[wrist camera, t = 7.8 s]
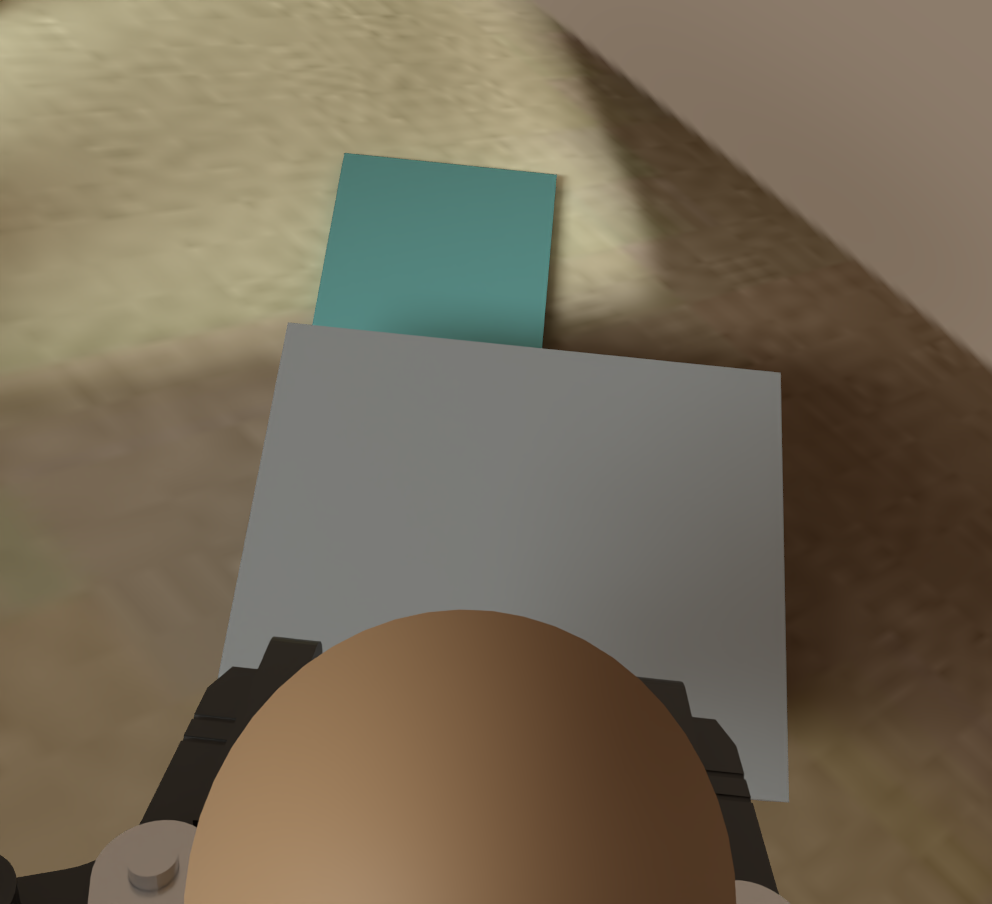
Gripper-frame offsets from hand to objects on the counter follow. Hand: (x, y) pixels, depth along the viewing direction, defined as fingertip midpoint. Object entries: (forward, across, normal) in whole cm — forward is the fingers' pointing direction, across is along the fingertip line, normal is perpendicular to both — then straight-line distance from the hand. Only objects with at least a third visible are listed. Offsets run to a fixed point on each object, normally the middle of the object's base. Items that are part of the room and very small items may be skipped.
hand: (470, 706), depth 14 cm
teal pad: (+26, +3, 0) cm, 26 cm away
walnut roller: (+2, 0, +4) cm, 5 cm away
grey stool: (+17, -1, +9) cm, 19 cm away
